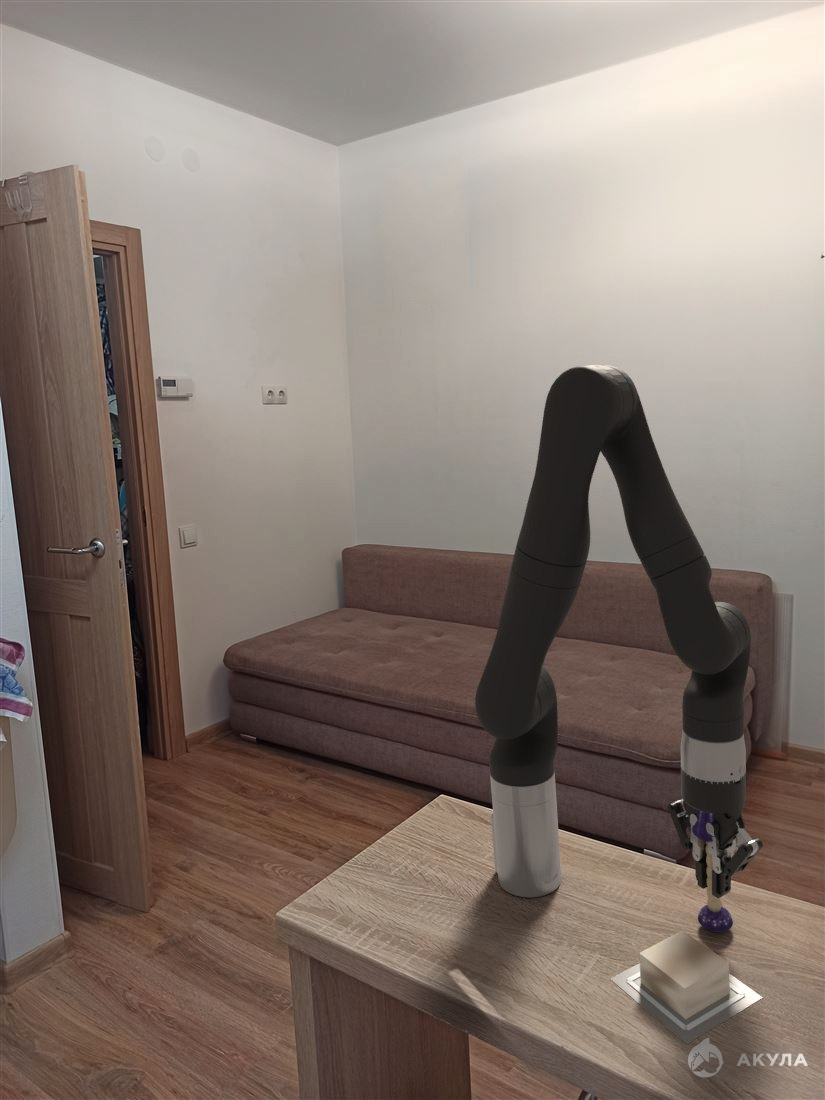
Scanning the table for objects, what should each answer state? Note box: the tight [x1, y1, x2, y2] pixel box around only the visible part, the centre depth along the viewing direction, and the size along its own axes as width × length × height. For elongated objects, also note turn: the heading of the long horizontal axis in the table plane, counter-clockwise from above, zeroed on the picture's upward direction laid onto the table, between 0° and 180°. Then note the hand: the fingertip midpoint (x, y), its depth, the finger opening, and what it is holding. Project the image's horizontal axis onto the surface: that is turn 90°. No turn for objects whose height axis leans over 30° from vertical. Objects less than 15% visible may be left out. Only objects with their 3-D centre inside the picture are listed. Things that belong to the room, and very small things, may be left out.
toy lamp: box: [692, 810, 734, 933], centre depth 104 cm, size 5×5×17 cm
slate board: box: [609, 962, 764, 1045], centre depth 96 cm, size 12×12×1 cm
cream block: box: [639, 930, 730, 1019], centre depth 96 cm, size 7×7×4 cm
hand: (713, 889), depth 104 cm, fingers closed on toy lamp
